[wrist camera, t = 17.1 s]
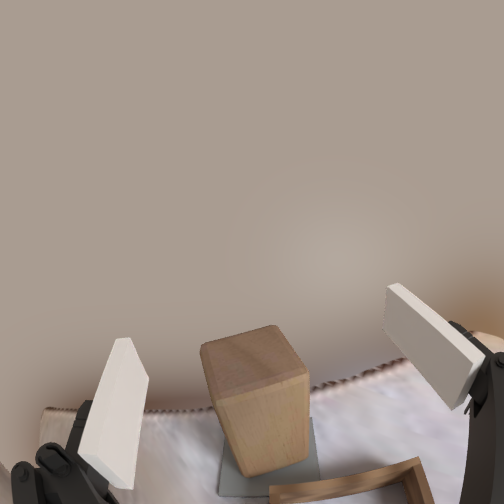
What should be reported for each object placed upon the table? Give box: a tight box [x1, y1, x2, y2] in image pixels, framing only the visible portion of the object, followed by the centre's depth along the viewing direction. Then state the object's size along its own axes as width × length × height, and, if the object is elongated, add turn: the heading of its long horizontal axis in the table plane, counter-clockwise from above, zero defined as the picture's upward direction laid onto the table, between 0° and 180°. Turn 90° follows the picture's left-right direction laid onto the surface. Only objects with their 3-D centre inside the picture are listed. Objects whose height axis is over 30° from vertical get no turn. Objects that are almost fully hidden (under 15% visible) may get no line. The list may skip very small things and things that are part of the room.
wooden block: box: [200, 325, 310, 478], centre depth 32 cm, size 10×10×20 cm
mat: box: [218, 417, 320, 497], centre depth 34 cm, size 14×14×1 cm
